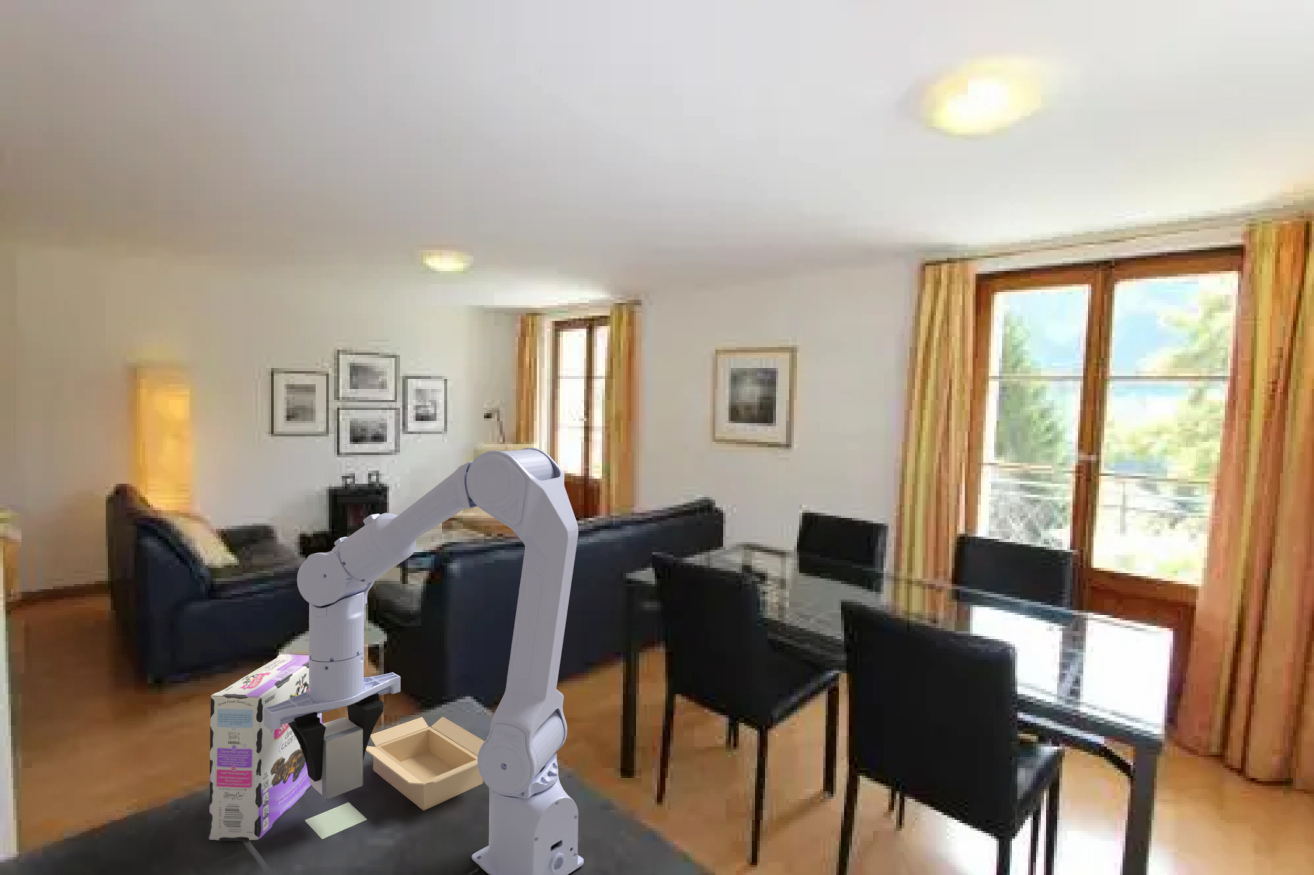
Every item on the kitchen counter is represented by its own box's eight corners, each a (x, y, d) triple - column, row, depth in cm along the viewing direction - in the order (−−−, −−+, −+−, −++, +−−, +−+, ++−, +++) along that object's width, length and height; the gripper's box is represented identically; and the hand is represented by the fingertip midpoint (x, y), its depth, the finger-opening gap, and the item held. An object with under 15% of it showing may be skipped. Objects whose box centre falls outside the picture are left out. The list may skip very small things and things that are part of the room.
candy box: (259, 844, 73) (259, 696, 72) (206, 842, 73) (206, 695, 73) (324, 777, 87) (325, 652, 86) (280, 775, 87) (280, 651, 86)
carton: (435, 742, 96) (435, 712, 96) (503, 786, 85) (503, 752, 85) (353, 773, 88) (353, 740, 87) (416, 826, 76) (417, 789, 76)
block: (309, 783, 77) (308, 727, 77) (344, 770, 80) (344, 716, 80) (326, 799, 73) (326, 741, 73) (363, 785, 76) (362, 729, 76)
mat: (366, 822, 77) (367, 819, 77) (322, 842, 73) (322, 838, 73) (348, 805, 80) (348, 802, 80) (304, 823, 77) (304, 820, 77)
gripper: (382, 631, 84) (381, 736, 85) (254, 660, 74) (254, 781, 74) (409, 644, 80) (408, 756, 80) (277, 678, 69) (276, 806, 69)
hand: (336, 769), depth 77 cm, fingers closed on block, 4 cm apart
